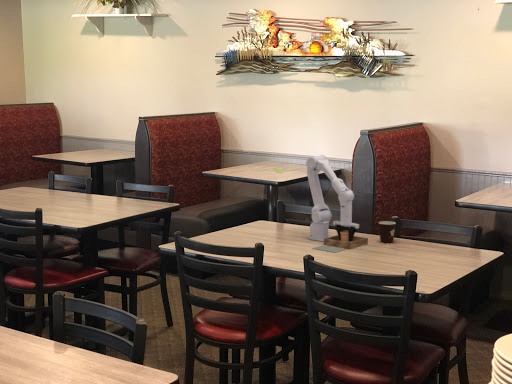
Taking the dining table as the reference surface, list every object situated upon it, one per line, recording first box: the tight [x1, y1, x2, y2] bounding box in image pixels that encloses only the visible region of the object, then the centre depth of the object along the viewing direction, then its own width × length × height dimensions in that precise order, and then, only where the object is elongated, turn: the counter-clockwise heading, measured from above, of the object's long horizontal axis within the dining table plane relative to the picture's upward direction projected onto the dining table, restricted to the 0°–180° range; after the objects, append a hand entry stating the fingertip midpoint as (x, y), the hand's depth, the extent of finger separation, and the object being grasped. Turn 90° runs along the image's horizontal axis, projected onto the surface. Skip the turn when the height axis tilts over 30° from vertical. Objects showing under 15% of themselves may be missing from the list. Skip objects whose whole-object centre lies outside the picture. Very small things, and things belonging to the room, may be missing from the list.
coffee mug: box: [378, 220, 398, 244], centre depth 349 cm, size 12×9×10 cm
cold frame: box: [323, 234, 369, 250], centre depth 345 cm, size 16×16×3 cm
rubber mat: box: [311, 244, 347, 254], centre depth 334 cm, size 14×9×1 cm, turn 48°
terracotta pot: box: [340, 230, 350, 243], centre depth 345 cm, size 6×6×6 cm
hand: (345, 240), depth 345 cm, fingers closed on terracotta pot, 5 cm apart
